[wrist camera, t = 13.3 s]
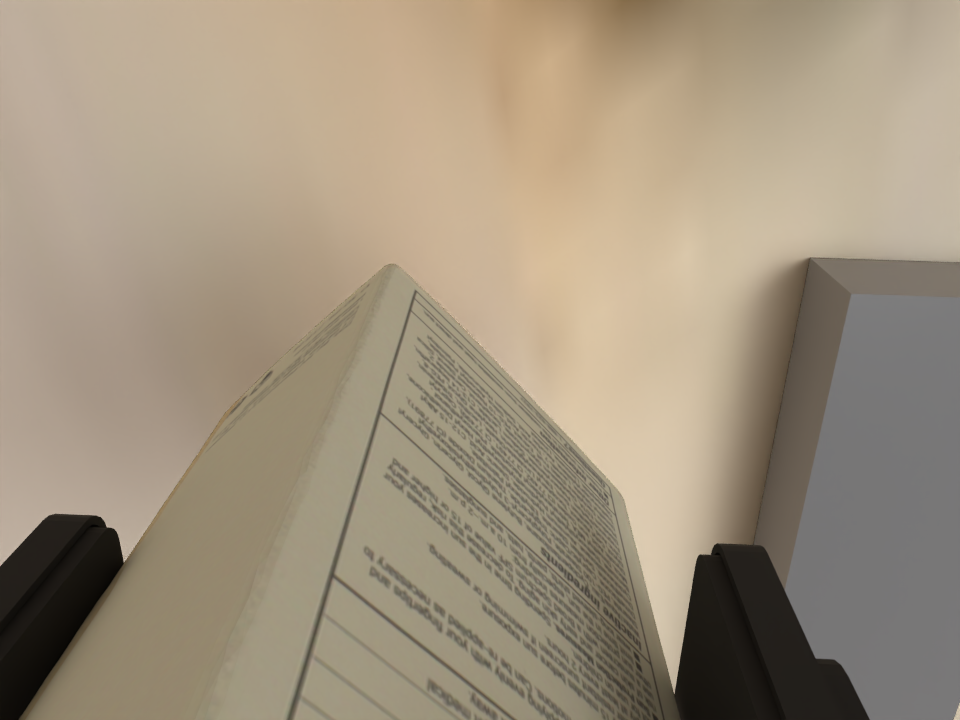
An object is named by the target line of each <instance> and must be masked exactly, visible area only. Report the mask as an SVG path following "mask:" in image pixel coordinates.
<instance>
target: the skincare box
mask: <svg viewBox="0 0 960 720" xmlns="http://www.w3.org/2000/svg"><path fill="white" fill-rule="evenodd" d="M19 720H680V716H679V712H678V708H677V704H676V700H675V696H674V692H673V688H672V684H671V680H670V676H669V673H668V669H667V665H666V661H665V657H664V654H663V650H662V646H661V643H660V639H659V635H658V632H657V628H656V624H655V620H654V616H653V612H652V608H651V604H650V600H649V596H648V592H647V588H646V585H645V581H644V577H643V573H642V569H641V565H640V561H639V557H638V553H637V549H636V545H635V542H634V538H633V534H632V530H631V526H630V522H629V518H628V514H627V510H626V506H625V502H624V499H623V497H622V495H621V494H620V492H619V491H618V490H617V489H616V487H615V486H614V485H613V484H612V483H611V482H610V481H609V480H608V479H607V478H606V476H605V475H604V474H603V473H602V472H601V471H600V470H599V469H598V468H597V467H596V466H595V465H594V464H593V463H592V462H591V460H590V459H589V458H588V457H587V456H586V455H585V454H584V453H583V452H582V451H581V449H580V448H579V447H578V446H577V445H576V444H575V443H574V442H573V441H572V440H571V439H570V438H569V437H568V436H567V435H566V434H565V433H564V431H563V430H562V429H561V428H560V427H559V426H558V425H557V424H556V423H555V422H554V421H553V420H552V419H551V418H550V417H549V416H548V415H547V414H546V413H545V412H544V411H543V410H542V409H541V408H540V407H539V406H538V405H537V404H536V402H535V401H534V400H533V399H532V398H531V397H530V396H529V395H528V394H527V393H526V392H525V391H524V390H523V389H522V388H521V387H520V386H519V385H518V384H517V383H516V382H515V381H514V380H513V379H512V378H511V377H510V376H509V375H508V374H507V373H506V372H505V371H504V369H503V368H502V367H501V366H500V365H499V364H498V363H497V362H496V361H495V360H494V359H493V358H492V357H491V356H490V355H489V354H488V353H487V352H486V351H485V350H484V349H483V348H482V347H481V346H480V345H479V344H478V343H477V342H476V341H475V340H474V339H473V338H472V337H471V336H470V335H469V334H468V333H467V332H466V331H465V330H464V329H463V328H462V327H461V326H460V324H459V323H458V322H457V321H456V320H455V319H454V318H453V317H451V316H450V315H449V314H448V313H447V312H446V311H445V310H444V309H443V308H442V307H441V306H440V305H439V304H438V303H437V302H436V301H435V300H434V299H433V298H432V297H431V296H430V295H429V294H428V293H427V292H425V291H424V290H423V289H422V288H421V287H420V286H419V285H418V284H417V283H416V282H415V281H414V280H413V279H412V278H411V277H410V276H409V275H408V274H407V273H406V272H405V271H404V270H402V269H401V268H400V267H399V266H397V265H396V264H389V265H386V266H384V267H383V268H382V269H381V270H380V271H379V272H378V273H376V274H375V275H374V276H373V277H372V278H371V279H369V280H368V281H367V282H366V283H365V284H364V285H362V286H361V287H360V288H359V289H358V290H357V291H356V292H354V293H353V294H352V295H351V296H350V297H349V298H348V299H346V300H345V301H344V302H343V303H342V304H341V305H340V306H338V307H337V308H336V309H335V310H334V311H333V312H332V313H330V314H329V315H328V316H327V317H326V318H325V319H324V320H323V321H321V322H320V323H319V324H318V325H317V326H316V327H315V328H314V329H313V330H311V331H310V332H309V333H308V334H307V335H306V336H305V337H304V338H303V339H302V340H301V341H300V342H299V343H298V344H296V345H295V346H294V347H293V348H292V349H290V350H289V351H288V352H287V353H286V354H285V355H284V356H283V357H282V358H281V359H280V360H279V361H278V362H277V363H276V364H274V365H273V366H272V367H271V368H270V369H269V370H268V371H267V372H266V373H265V374H264V375H263V376H262V377H261V378H260V379H259V380H258V381H257V382H256V383H255V384H254V385H253V386H252V387H251V388H250V389H249V390H248V391H247V392H246V393H245V394H244V395H243V396H242V397H241V398H240V399H239V400H238V401H236V402H235V403H234V404H233V405H232V406H231V407H230V409H229V410H228V411H227V412H226V413H225V414H224V415H223V417H222V418H221V420H220V421H219V423H218V425H217V426H216V428H215V429H214V431H213V432H212V434H211V435H210V437H209V438H208V440H207V441H206V443H205V444H204V446H203V447H202V449H201V450H200V452H199V453H198V455H197V456H196V458H195V459H194V460H193V462H192V463H191V465H190V466H189V468H188V469H187V471H186V472H185V474H184V475H183V477H182V478H181V480H180V481H179V482H178V484H177V485H176V487H175V488H174V490H173V491H172V493H171V494H170V496H169V497H168V499H167V500H166V502H165V503H164V505H163V506H162V508H161V509H160V511H159V512H158V514H157V515H156V517H155V518H154V520H153V521H152V523H151V524H150V526H149V527H148V529H147V530H146V531H145V533H144V534H143V536H142V537H141V539H140V540H139V542H138V543H137V545H136V546H135V548H134V549H133V551H132V552H131V554H130V555H129V557H128V558H127V560H126V561H125V562H124V564H123V566H122V567H121V568H120V570H119V571H118V573H117V574H116V576H115V577H114V579H113V581H112V582H111V584H110V585H109V586H108V588H107V589H106V591H105V592H104V593H103V595H102V596H101V597H100V599H99V600H98V601H97V603H96V604H95V606H94V607H93V609H92V610H91V612H90V613H89V615H88V616H87V618H86V619H85V621H84V622H83V624H82V625H81V627H80V628H79V630H78V631H77V633H76V634H75V636H74V638H73V639H72V641H71V642H70V644H69V645H68V647H67V648H66V650H65V651H64V653H63V654H62V656H61V657H60V659H59V660H58V662H57V663H56V665H55V666H54V667H53V669H52V670H51V672H50V673H49V675H48V676H47V678H46V679H45V681H44V682H43V684H42V685H41V687H40V688H39V690H38V691H37V693H36V695H35V696H34V698H33V699H32V701H31V702H30V704H29V705H28V707H27V708H26V710H25V711H24V713H23V714H22V715H21V717H20V718H19Z"/></svg>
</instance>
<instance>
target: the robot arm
mask: <svg viewBox="0 0 960 720" xmlns="http://www.w3.org/2000/svg"><path fill="white" fill-rule="evenodd" d="M123 564H124V562H123V557H122V552H121V547H120V542H119V537H118V534H117V532H116V531H115V529H112V528H106V525H105V522H104V521H103V519H102V518H101V517H98V516H92V515H69V514H53V515H49V516H48V517H47V518H45V519H44V520H43V521H42V522H41V523H40V524H39V525H38V526H37V528H36V529H35V530H34V531H33V532H32V533H31V534H30V535H29V536H28V537H27V538H26V539H25V540H24V541H23V543H22V544H21V545H20V546H19V547H18V548H17V549H16V550H15V551H14V552H13V553H12V554H11V555H10V556H9V558H8V559H7V560H6V561H5V562H4V563H3V564H2V565H1V566H0V720H19V718H20V717H21V715H22V714H23V713H24V711H25V710H26V708H27V707H28V705H29V704H30V702H31V701H32V699H33V698H34V696H35V695H36V693H37V691H38V690H39V688H40V687H41V685H42V684H43V682H44V681H45V679H46V678H47V676H48V675H49V673H50V672H51V670H52V669H53V667H54V666H55V665H56V663H57V662H58V660H59V659H60V657H61V656H62V654H63V653H64V651H65V650H66V648H67V647H68V645H69V644H70V642H71V641H72V639H73V638H74V636H75V634H76V633H77V631H78V630H79V628H80V627H81V625H82V624H83V622H84V621H85V619H86V618H87V616H88V615H89V613H90V612H91V610H92V609H93V607H94V606H95V604H96V603H97V601H98V600H99V599H100V597H101V596H102V595H103V593H104V592H105V591H106V589H107V588H108V586H109V585H110V584H111V582H112V581H113V579H114V577H115V576H116V574H117V573H118V571H119V570H120V568H121V567H122V566H123ZM674 696H675V700H676V704H677V708H678V712H679V716H680V720H870V719H869V717H868V715H867V713H866V711H865V709H864V707H863V705H862V703H861V701H860V699H859V697H858V695H857V693H856V691H855V689H854V687H853V685H852V682H851V680H850V678H849V676H848V675H847V673H846V672H845V670H844V668H843V667H842V665H841V664H839V663H838V662H837V661H836V660H834V659H816V658H815V656H814V654H813V651H812V649H811V647H810V645H809V643H808V640H807V638H806V636H805V634H804V632H803V629H802V627H801V625H800V623H799V621H798V619H797V616H796V614H795V612H794V610H793V608H792V605H791V603H790V601H789V599H788V597H787V594H786V592H785V590H784V588H783V586H782V583H781V581H780V579H779V577H778V575H777V573H776V570H775V568H774V566H773V564H772V562H771V559H770V557H769V555H768V553H767V551H766V550H765V548H764V547H763V546H761V545H742V544H719V543H717V544H716V545H714V547H713V549H712V553H711V555H699V556H698V558H697V561H696V566H695V572H694V578H693V584H692V590H691V596H690V603H689V609H688V615H687V621H686V627H685V633H684V640H683V646H682V652H681V658H680V664H679V670H678V677H677V683H676V689H675V695H674Z"/></svg>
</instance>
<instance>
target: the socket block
mask: <svg viewBox="0 0 960 720" xmlns="http://www.w3.org/2000/svg"><path fill="white" fill-rule="evenodd" d="M753 545H761V546H763V547H764V548H765V550H766V551H767V553H768V555H769V557H770V559H771V562H772V564H773V566H774V568H775V570H776V573H777V575H778V577H779V579H780V581H781V583H782V586H783V588H784V590H785V592H786V594H787V597H788V599H789V601H790V603H791V605H792V608H793V610H794V612H795V614H796V616H797V619H798V621H799V623H800V625H801V627H802V629H803V632H804V634H805V636H806V638H807V640H808V643H809V645H810V647H811V649H812V651H813V654H814V656H815V658H816V659H834V660H836V661H837V662H838V663H839V664H841V665H842V667H843V668H844V670H845V672H846V673H847V675H848V676H849V678H850V680H851V682H852V685H853V687H854V689H855V691H856V693H857V695H858V697H859V699H860V701H861V703H862V705H863V707H864V709H865V711H866V713H867V715H868V717H869V719H870V720H953V719H954V716H955V714H956V711H957V708H958V705H959V703H960V263H951V262H921V261H891V260H861V259H831V258H810V261H809V266H808V271H807V277H806V282H805V287H804V292H803V297H802V302H801V307H800V312H799V317H798V322H797V327H796V332H795V337H794V342H793V347H792V352H791V357H790V362H789V367H788V372H787V377H786V382H785V387H784V392H783V398H782V403H781V408H780V413H779V418H778V423H777V428H776V433H775V438H774V443H773V448H772V453H771V458H770V463H769V468H768V473H767V478H766V483H765V488H764V493H763V498H762V503H761V508H760V513H759V518H758V524H757V529H756V534H755V539H754V544H753Z"/></svg>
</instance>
